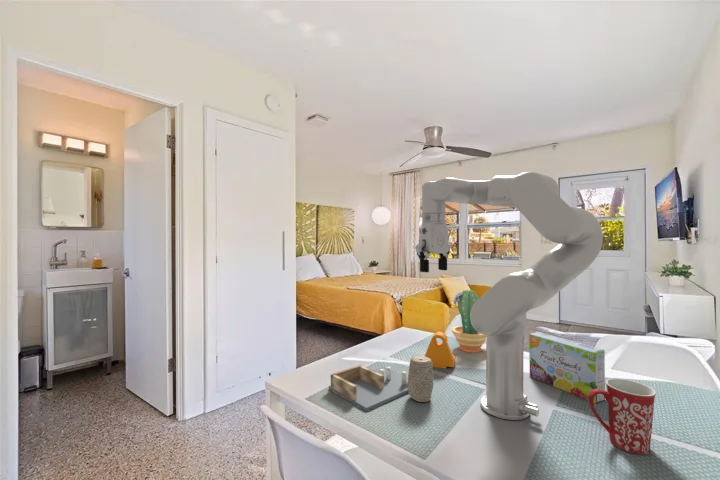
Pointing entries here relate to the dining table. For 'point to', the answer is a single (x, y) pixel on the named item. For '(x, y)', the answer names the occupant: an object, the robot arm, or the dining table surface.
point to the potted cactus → (467, 323)
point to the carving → (420, 378)
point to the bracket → (440, 352)
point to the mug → (627, 414)
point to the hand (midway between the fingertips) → (433, 271)
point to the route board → (378, 389)
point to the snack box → (567, 365)
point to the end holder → (343, 379)
